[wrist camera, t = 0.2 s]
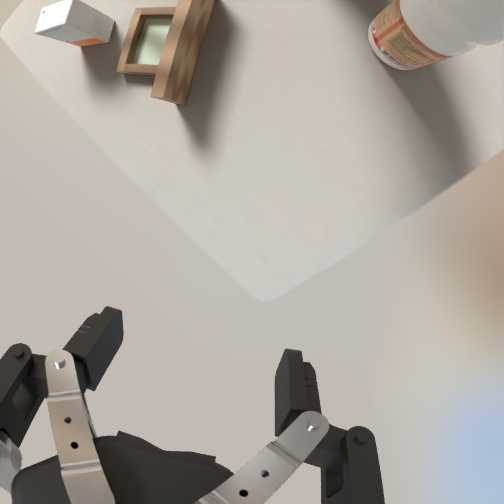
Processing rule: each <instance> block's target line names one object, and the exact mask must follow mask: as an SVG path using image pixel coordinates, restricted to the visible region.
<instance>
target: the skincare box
mask: <svg viewBox="0 0 504 504" xmlns="http://www.w3.org/2000/svg"><path fill="white" fill-rule="evenodd" d="M113 25H114V20H113V19H111V18H110V17H108V16H106V15H104V14H103V13H101V12H99V11H97V10H96V9H94V8H92V7H90V6H88V5H87V4H85V3H83V2H81V1H79V0H65V1H61V2H57V3H55V4H53V5H50V6H47V7H44V8H42V10H41V13H40V17H39V20H38V23H37V26H36V30H35V34H39V35H42V36H46V37H50V38H53V39H57V40H60V41H63V42H67V43H70V44H73V45H76V46H79V47H82V46H86V45H92V44H99V43H107V42H109V40H110V36H111V32H112V28H113Z"/></svg>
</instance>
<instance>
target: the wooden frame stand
mask: <svg viewBox="0 0 504 504" xmlns="http://www.w3.org/2000/svg"><path fill="white" fill-rule="evenodd" d="M215 1H216V0H179V2H178V5H177V7H155V8H136V9H135V11H134V14H133V17H132V20H131V23H130V26H129V29H128V32H127V35H126V38H125V41H124V44H123V48H122V51H121V55H120V58H119V62H118V66H117V69H116V72H119V73H122V74H134V75H153V76H155V80H154V84H153V88H152V92H151V97H154V98H158V99H161V100H165V101H168V102H172V103H175V104H183V105H186V101H187V96H188V92H189V88H190V84H191V80H192V77H193V73H194V69H195V65H196V62H197V58H198V55H199V51H200V48H201V44H202V41H203V38H204V34H205V31H206V28H207V25H208V22H209V19H210V16H211V13H212V10H213V7H214V4H215Z"/></svg>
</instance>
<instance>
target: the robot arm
mask: <svg viewBox="0 0 504 504" xmlns="http://www.w3.org/2000/svg"><path fill="white" fill-rule="evenodd" d="M122 341H123V320H122V311H121V310H118V309H115V308H112V307H109V306H107V307H105V308H104V310H103V311H102V312H101V314H97V313H95V314H93V315H91V316H90V317H88V318H87V319H86V320H85V321H84V323H83V324H82V326H81V327H80V328H79V329H78V331H77V332H76V333H75V334H74V335H73V337H72V338H71V339H70V340H69V342H68V343H67V344H66V346H65V347H64V348H63V349H62V350H55V351H52V352H51V353H49V354H48V355H47V356H44V355H37V354H32V352H31V350H30V348H29V347H28V346H27V345H25V344H22V343H19V344H14V345H12V346H11V347H10V348H9V349H8V350H7V351H6V353H5V354H4V356H3V357H2V358H1V359H0V487H2V488H3V489H4V490H6V491H7V492H9V493H10V494H11V497H12V504H263V503H265V501H267V500H268V499H269V498H270V497H271V496H272V495H273V494H274V493H275V492H276V491H277V490H278V489H279V488H280V487H281V485H283V483H284V482H285V481H286V480H287V479H288V478H289V477H290V476H291V475H292V474H293V473H294V472H295V470H296V469H297V468H298V467H299V466H300V465H301V464H302V462H305V463H307V464H311V465H314V466H317V467H320V468H321V504H385V501H384V494H383V486H382V479H381V472H380V465H379V460H378V453H377V447H376V442H375V437H374V435H373V433H372V432H371V431H370V430H369V429H367V428H365V427H362V426H355V427H352V428H350V429H349V430H348V431H347V430H344V429H340V428H337V427H335V426H332V425H330V424H329V423H328V420H327V419H326V417H325V416H323V415H322V413H321V407H320V400H319V393H318V388H317V381H316V374H315V370H314V368H313V367H312V365H311V364H310V363H309V362H303V358H302V352H301V351H299V350H292V349H285V351H284V353H283V356H282V358H281V361H280V363H279V366H278V368H277V371H276V376H275V436H278V438H277V439H276V440H275V441H274V442H271V443H269V444H268V445H267V446H266V447H264V448H263V449H262V450H261V451H260V452H259V453H258V454H257V455H256V456H255V457H253V458H252V459H251V460H250V461H249V462H248V463H247V464H245V465H244V466H243V467H242V468H241V469H240V470H239V471H237V472H236V473H235V474H233V473H232V472H231V471H230V470H228V469H227V468H226V467H224V466H222V465H220V464H218V463H215V459H216V457H215V456H209V455H205V454H200V453H195V452H179V451H165V450H162V449H160V448H158V447H156V446H154V445H152V444H151V443H149V442H147V441H145V440H144V439H141V438H139V437H136V436H133V435H130V434H127V433H124V432H121V431H118V434H117V436H101V437H97V435H96V432H95V430H94V427H93V424H92V420H91V417H90V414H89V410H88V407H87V403H86V399H85V395H84V393H85V391H86V389H90V390H92V391H95V389H96V388H97V386H98V384H99V382H100V380H101V378H102V377H103V375H104V373H105V371H106V370H107V368H108V366H109V365H110V363H111V361H112V359H113V357H114V356H115V354H116V353H117V351H118V349H119V348H120V346H121V344H122ZM44 398H47V405H48V411H49V416H50V422H51V427H52V432H53V437H54V441H55V445H56V450H57V454H58V455H56V456H53V457H51V458H49V459H46V460H44V461H41V462H39V463H36V464H34V465H31V466H29V467H26V468H24V469H22V470H21V468H20V467H21V460H22V455H21V452H20V450H19V447H20V445H21V443H22V440H23V438H24V436H25V434H26V432H27V430H28V428H29V426H30V424H31V422H32V420H33V418H34V416H35V414H36V413H37V411H38V409H39V407H40V405H41V403H42V402H43V400H44Z"/></svg>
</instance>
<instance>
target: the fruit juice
mask: <svg viewBox="0 0 504 504" xmlns="http://www.w3.org/2000/svg"><path fill="white" fill-rule="evenodd" d="M368 40H369V43H370V46H371V48H372V49H373V51H374V53H375V54H376V55H377V56H378V57H379V58H380V59H381V60H382V61H383V62H384V63H386V64H387V65H389V66H391V67H393V68H396V69H399V70H413V69H416V68H419V67H422V66H425V65H428V64H431V63H434V62H437V61H440V60H444V59H447V58H450V57H454V56H458V55H461V54H464V53H466V52H468V51H471V50H472V49H474V48H475V47H476V46H477V45H494V44H497V43H499V42H501V41H503V40H504V0H393V1H392V2H391V3H390V4H389V5H388V6H386V7H385V8H384V9H383V10H382V11H381V12H380V13H379V14H378V15H377V16H376V17H375V18H374V19H373V20H372V22H371V23H370V25H369V28H368Z"/></svg>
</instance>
